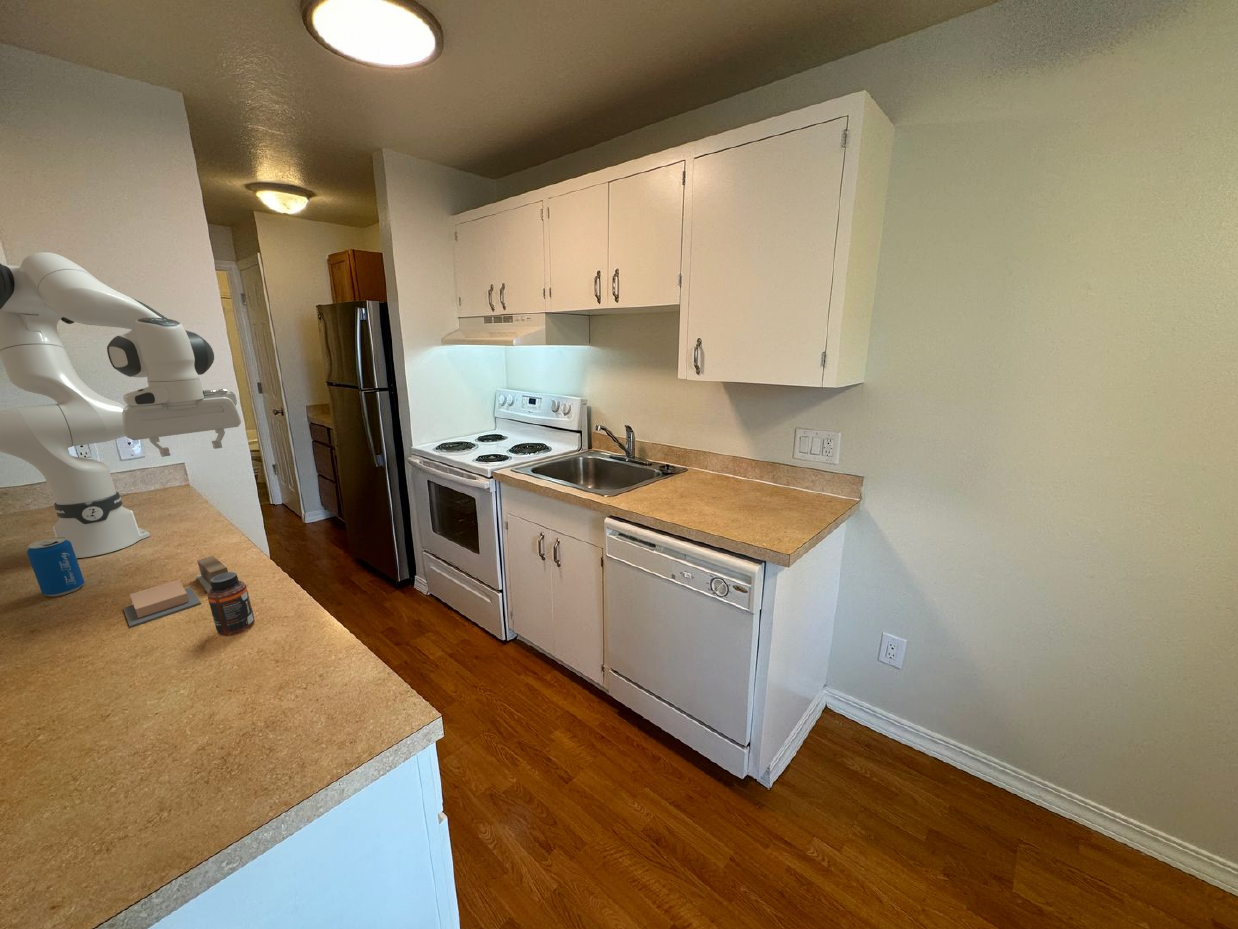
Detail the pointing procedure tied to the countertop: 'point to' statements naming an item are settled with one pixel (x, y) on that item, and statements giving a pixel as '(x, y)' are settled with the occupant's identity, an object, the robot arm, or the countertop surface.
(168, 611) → the mat
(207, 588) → the pad
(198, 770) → the countertop surface
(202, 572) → the tall taupe beveled block
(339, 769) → the countertop surface
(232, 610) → the supplement bottle
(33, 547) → the beverage can
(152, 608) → the tile
